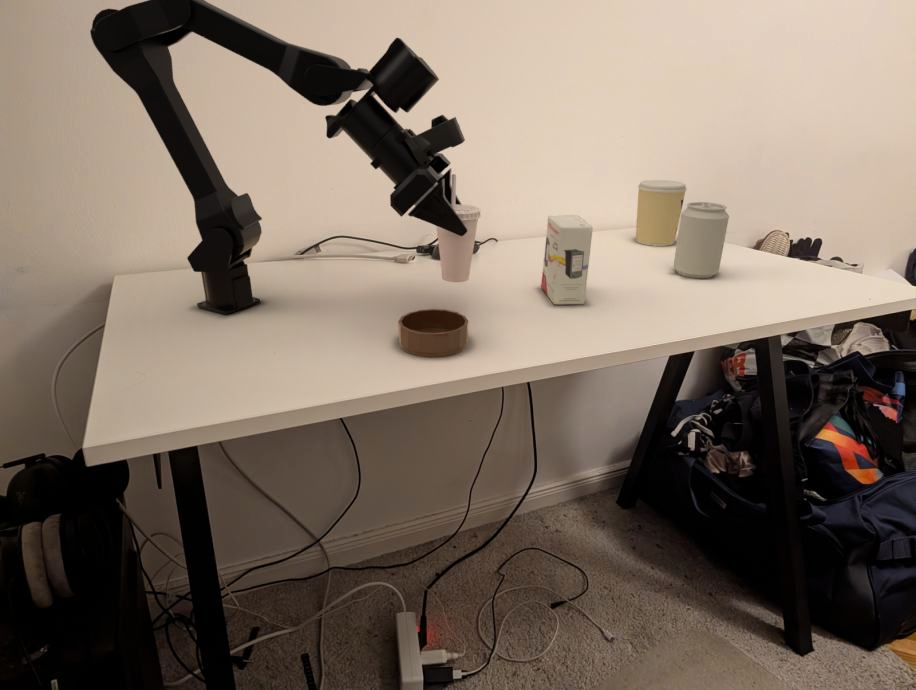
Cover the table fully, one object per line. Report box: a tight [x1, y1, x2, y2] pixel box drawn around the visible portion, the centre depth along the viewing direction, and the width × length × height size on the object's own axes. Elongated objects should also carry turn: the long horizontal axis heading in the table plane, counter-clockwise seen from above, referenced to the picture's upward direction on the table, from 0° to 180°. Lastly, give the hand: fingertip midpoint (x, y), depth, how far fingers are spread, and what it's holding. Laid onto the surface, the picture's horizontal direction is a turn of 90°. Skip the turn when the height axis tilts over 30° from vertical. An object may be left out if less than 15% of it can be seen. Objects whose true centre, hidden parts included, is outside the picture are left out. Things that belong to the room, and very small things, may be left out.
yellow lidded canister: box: [635, 179, 688, 247], centre depth 125 cm, size 9×9×12 cm
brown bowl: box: [397, 308, 470, 358], centre depth 76 cm, size 9×9×3 cm
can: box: [672, 201, 730, 279], centre depth 103 cm, size 8×8×12 cm
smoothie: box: [435, 173, 482, 283], centre depth 82 cm, size 6×6×14 cm
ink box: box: [540, 214, 593, 305], centre depth 91 cm, size 9×5×12 cm, turn 6°
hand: (466, 228), depth 81 cm, fingers closed on smoothie, 6 cm apart
